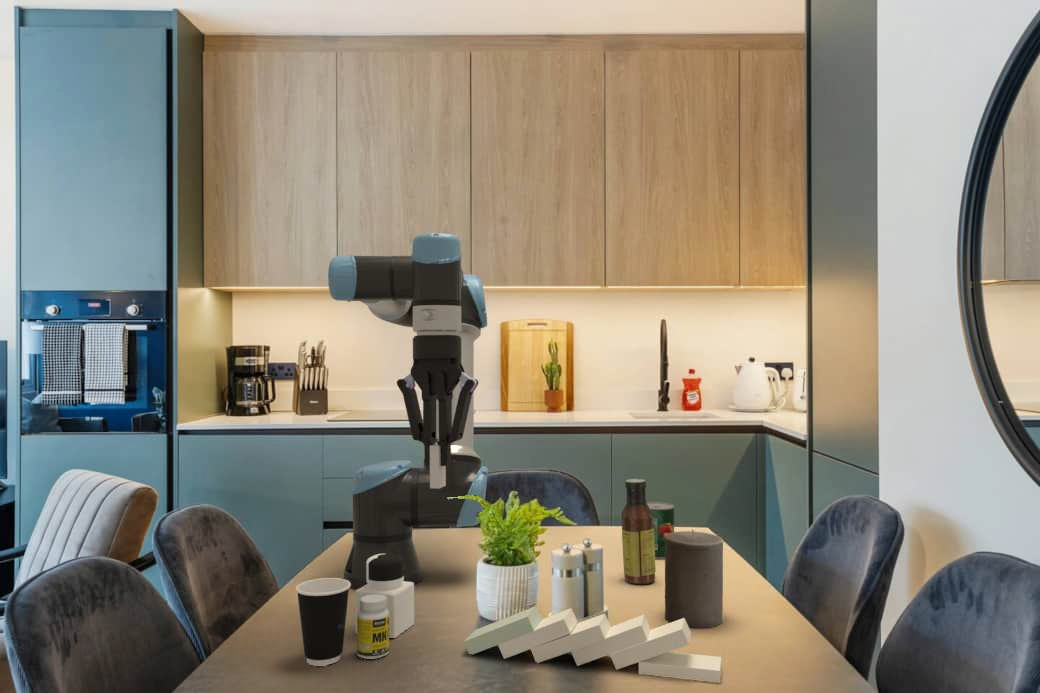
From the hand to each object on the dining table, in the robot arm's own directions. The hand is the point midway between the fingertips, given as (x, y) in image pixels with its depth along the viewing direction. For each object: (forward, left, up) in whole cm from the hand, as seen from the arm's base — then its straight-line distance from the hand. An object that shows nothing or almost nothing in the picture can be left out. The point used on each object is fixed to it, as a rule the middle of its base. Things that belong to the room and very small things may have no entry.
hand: (437, 486), depth 119 cm
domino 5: (+31, 0, -24) cm, 39 cm away
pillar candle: (+37, +23, -25) cm, 50 cm away
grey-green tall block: (+6, 0, -23) cm, 24 cm away
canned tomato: (+26, +63, -25) cm, 72 cm away
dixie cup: (-14, -10, -25) cm, 30 cm away
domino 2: (+16, 0, -23) cm, 28 cm away
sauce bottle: (+25, +42, -25) cm, 55 cm away
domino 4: (+28, 0, -23) cm, 36 cm away
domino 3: (+22, 0, -23) cm, 32 cm away
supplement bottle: (-8, -6, -25) cm, 27 cm away
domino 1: (+11, 0, -23) cm, 26 cm away
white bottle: (-11, +4, -25) cm, 27 cm away
